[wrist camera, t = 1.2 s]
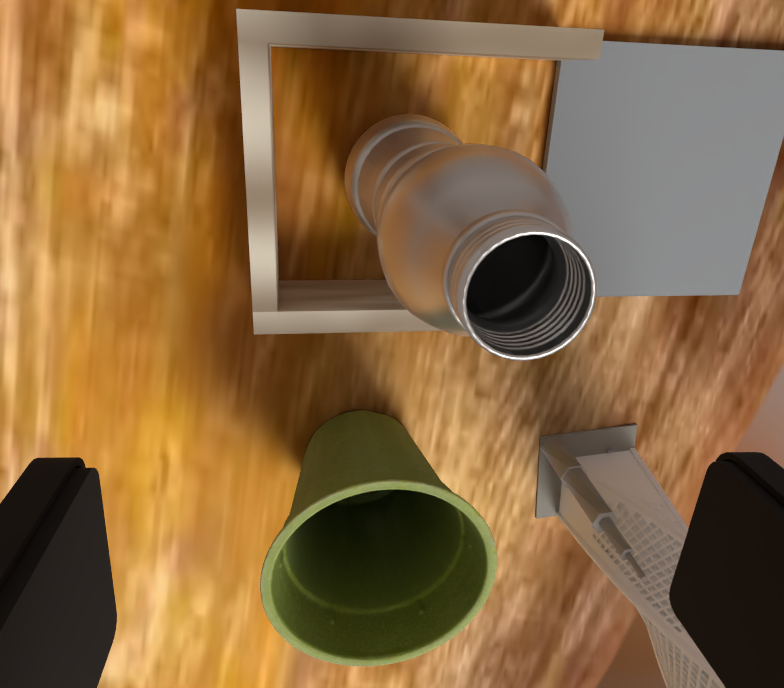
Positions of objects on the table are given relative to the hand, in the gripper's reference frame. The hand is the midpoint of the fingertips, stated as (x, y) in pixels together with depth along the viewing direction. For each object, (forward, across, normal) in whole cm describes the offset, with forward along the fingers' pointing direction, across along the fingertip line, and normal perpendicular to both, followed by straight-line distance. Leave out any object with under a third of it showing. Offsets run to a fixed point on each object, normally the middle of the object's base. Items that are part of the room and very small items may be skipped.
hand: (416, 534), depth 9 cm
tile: (+27, -18, -3) cm, 33 cm away
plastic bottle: (+27, -3, -2) cm, 27 cm away
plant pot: (+27, -2, +16) cm, 32 cm away
